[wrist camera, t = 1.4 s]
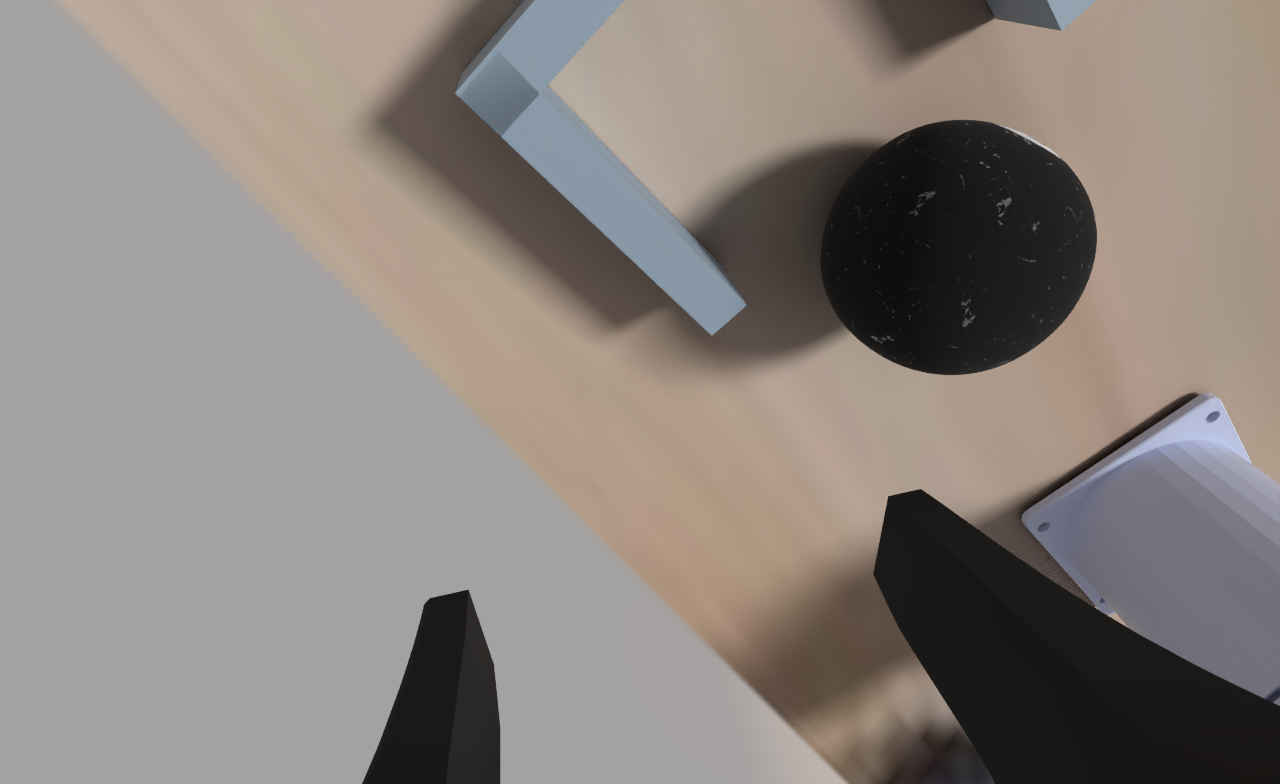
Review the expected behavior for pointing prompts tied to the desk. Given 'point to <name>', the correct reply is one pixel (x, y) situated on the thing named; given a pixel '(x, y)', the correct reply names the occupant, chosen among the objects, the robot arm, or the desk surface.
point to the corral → (587, 169)
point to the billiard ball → (958, 247)
